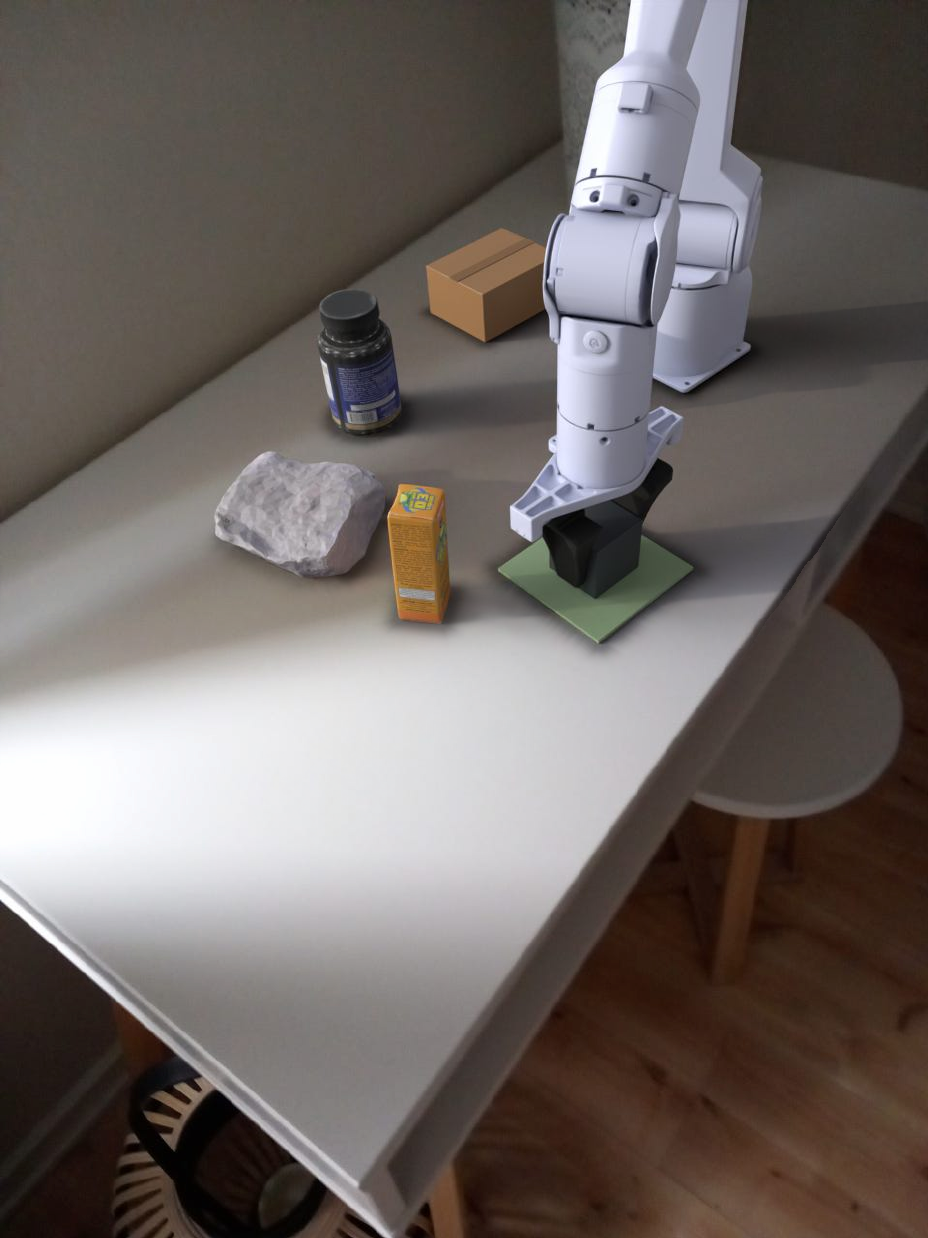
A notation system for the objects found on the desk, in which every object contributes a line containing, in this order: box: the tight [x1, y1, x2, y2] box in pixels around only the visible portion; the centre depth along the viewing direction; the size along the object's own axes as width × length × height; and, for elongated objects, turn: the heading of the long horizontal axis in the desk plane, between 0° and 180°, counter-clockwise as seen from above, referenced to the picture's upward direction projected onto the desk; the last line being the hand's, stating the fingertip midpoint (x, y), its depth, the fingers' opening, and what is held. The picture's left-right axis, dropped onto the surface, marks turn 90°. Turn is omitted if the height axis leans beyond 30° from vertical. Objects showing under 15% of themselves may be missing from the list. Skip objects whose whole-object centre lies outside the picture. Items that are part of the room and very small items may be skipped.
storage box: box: [425, 227, 547, 343], centre depth 94 cm, size 10×8×5 cm
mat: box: [497, 534, 694, 644], centre depth 71 cm, size 10×10×1 cm
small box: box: [549, 500, 644, 599], centre depth 69 cm, size 5×5×5 cm
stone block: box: [213, 450, 386, 579], centre depth 75 cm, size 12×5×10 cm
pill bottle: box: [316, 288, 402, 437], centre depth 81 cm, size 6×6×11 cm
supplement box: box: [387, 483, 451, 624], centre depth 66 cm, size 3×3×10 cm
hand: (595, 560), depth 70 cm, fingers closed on small box, 4 cm apart
